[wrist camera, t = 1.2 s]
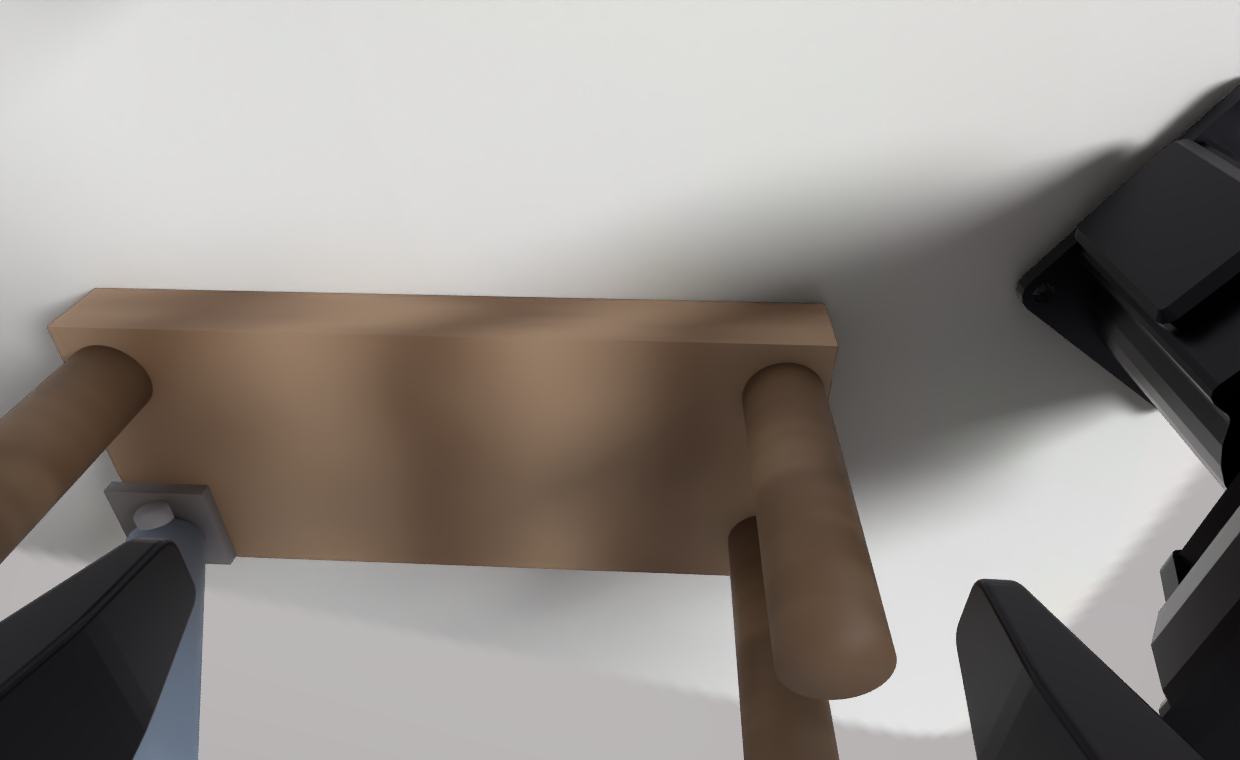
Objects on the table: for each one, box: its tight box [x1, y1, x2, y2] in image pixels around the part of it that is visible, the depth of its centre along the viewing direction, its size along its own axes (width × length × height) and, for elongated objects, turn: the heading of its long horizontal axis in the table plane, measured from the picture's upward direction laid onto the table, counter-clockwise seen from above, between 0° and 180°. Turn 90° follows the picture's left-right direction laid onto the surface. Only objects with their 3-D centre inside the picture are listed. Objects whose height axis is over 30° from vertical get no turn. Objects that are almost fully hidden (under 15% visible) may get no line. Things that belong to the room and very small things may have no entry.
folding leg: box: [125, 501, 206, 760], centre depth 20 cm, size 2×2×8 cm
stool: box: [0, 288, 897, 760], centre depth 19 cm, size 20×8×10 cm, turn 90°
